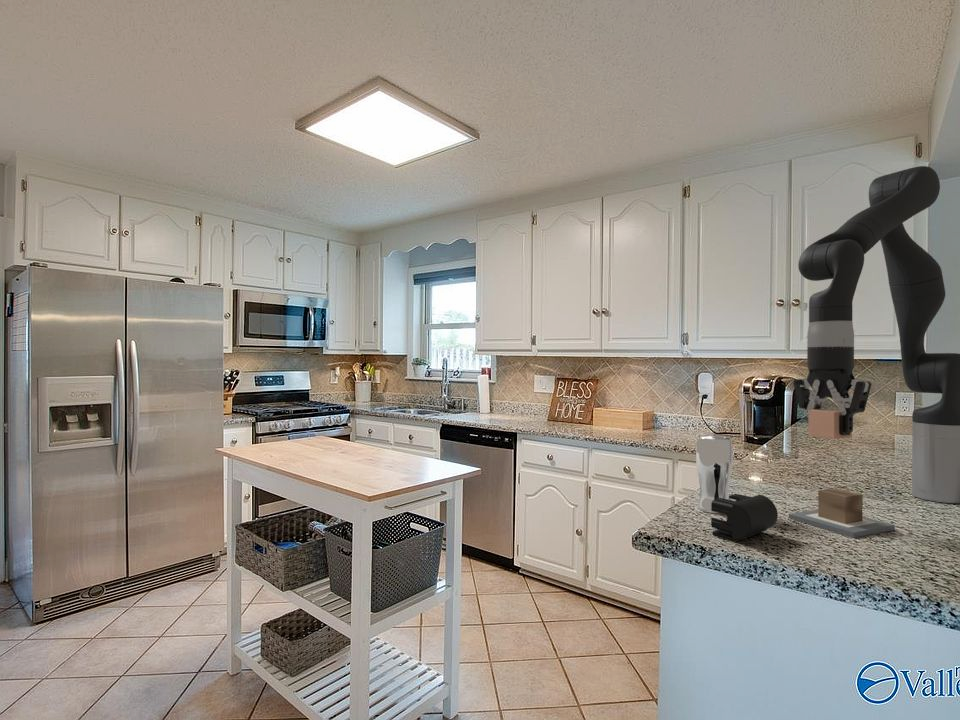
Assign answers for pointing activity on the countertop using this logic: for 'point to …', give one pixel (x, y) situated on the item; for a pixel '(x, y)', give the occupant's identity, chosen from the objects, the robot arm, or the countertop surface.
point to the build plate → (850, 529)
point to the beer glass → (713, 469)
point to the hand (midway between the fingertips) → (830, 432)
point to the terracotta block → (825, 424)
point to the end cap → (743, 516)
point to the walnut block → (840, 505)
